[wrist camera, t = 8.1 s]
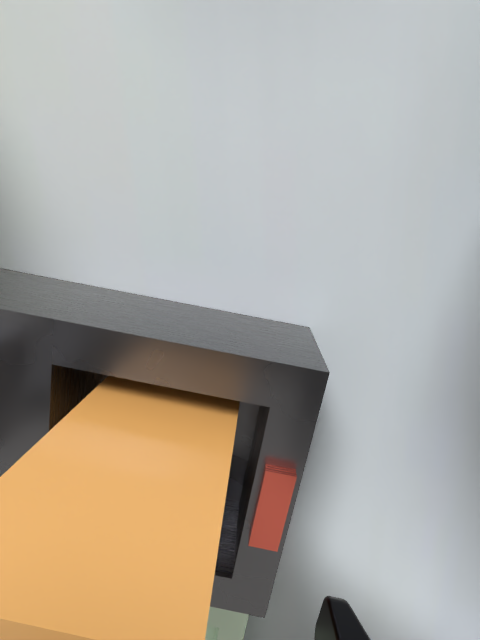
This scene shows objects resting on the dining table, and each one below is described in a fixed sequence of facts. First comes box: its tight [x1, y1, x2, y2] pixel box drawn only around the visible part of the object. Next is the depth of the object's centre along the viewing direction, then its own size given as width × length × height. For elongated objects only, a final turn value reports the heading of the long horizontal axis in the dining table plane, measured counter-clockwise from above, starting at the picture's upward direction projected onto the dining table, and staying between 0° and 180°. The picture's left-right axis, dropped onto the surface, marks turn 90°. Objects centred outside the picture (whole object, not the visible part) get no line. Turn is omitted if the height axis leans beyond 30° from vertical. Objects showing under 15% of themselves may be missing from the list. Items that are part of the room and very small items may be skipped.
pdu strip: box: [0, 268, 329, 618], centre depth 11 cm, size 16×8×4 cm, turn 80°
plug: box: [0, 376, 240, 640], centre depth 8 cm, size 4×4×9 cm
